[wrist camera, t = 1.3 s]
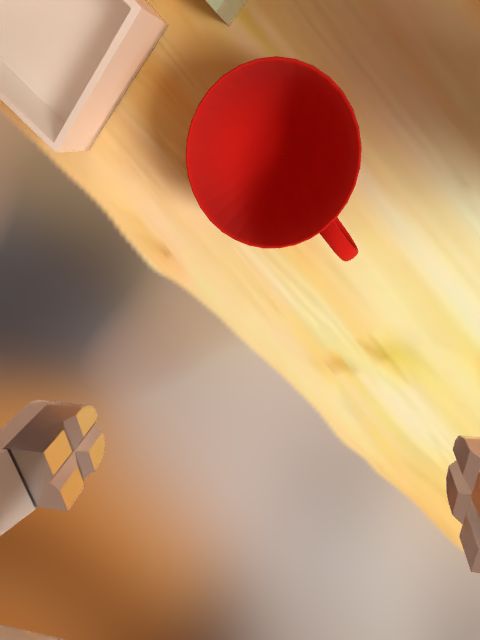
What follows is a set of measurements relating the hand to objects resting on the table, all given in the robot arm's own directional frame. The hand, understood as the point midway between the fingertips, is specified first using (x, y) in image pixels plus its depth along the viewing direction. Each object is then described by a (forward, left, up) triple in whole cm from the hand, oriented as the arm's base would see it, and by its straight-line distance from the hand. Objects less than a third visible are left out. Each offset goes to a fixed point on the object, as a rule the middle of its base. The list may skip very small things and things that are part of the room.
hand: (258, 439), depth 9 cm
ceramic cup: (-1, -3, -33) cm, 34 cm away
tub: (+6, -27, -33) cm, 43 cm away
